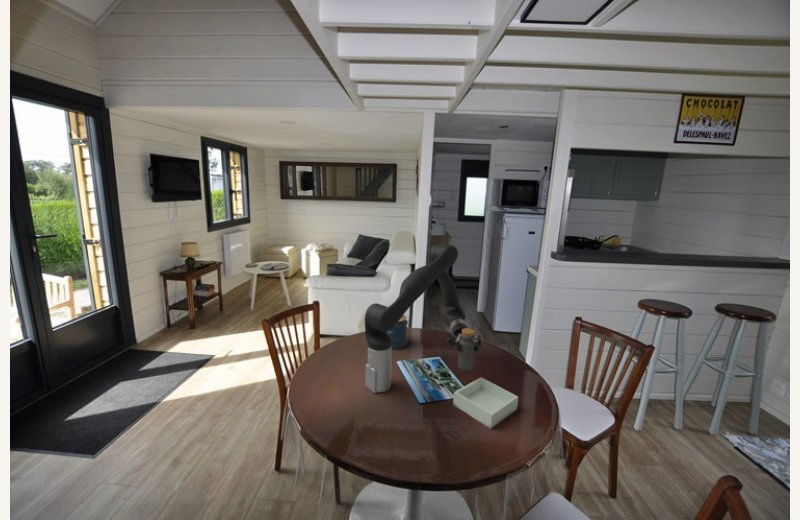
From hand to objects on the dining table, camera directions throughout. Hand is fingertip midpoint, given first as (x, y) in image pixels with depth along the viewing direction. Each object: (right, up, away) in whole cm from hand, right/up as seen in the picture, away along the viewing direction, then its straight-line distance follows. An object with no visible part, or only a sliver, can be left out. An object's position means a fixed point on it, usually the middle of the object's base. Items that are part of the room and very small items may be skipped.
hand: (468, 349), depth 124 cm
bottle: (0, -8, +4) cm, 9 cm away
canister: (-29, -9, +43) cm, 52 cm away
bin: (+5, -19, -5) cm, 21 cm away
